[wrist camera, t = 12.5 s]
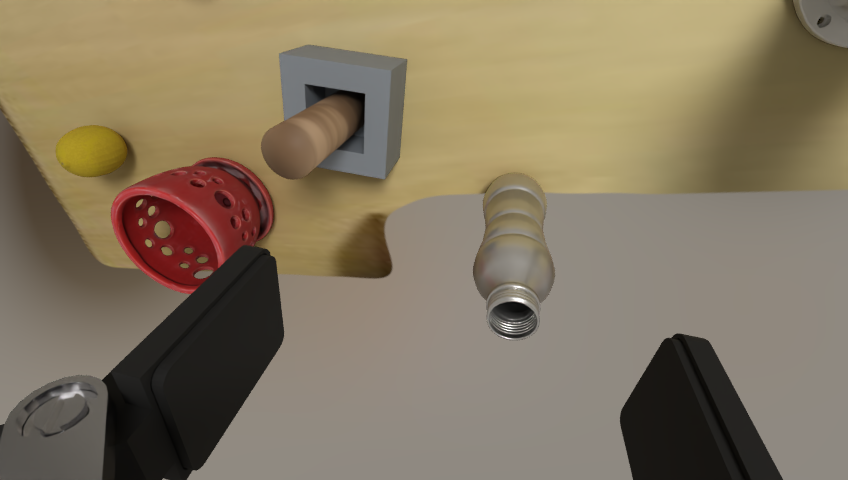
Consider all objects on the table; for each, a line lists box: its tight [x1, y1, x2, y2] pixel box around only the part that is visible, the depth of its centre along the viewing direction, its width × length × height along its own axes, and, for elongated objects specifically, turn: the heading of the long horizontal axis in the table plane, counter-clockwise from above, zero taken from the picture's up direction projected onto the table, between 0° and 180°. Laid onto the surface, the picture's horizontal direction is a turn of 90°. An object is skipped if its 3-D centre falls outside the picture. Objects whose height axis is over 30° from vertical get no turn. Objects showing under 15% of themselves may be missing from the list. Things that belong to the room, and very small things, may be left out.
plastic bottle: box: [473, 173, 555, 340], centre depth 36 cm, size 6×7×20 cm
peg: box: [261, 90, 365, 179], centre depth 36 cm, size 4×4×14 cm
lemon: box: [56, 125, 127, 177], centre depth 47 cm, size 6×6×8 cm
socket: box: [279, 45, 407, 179], centre depth 40 cm, size 10×10×6 cm
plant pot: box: [111, 157, 274, 294], centre depth 47 cm, size 13×13×12 cm
